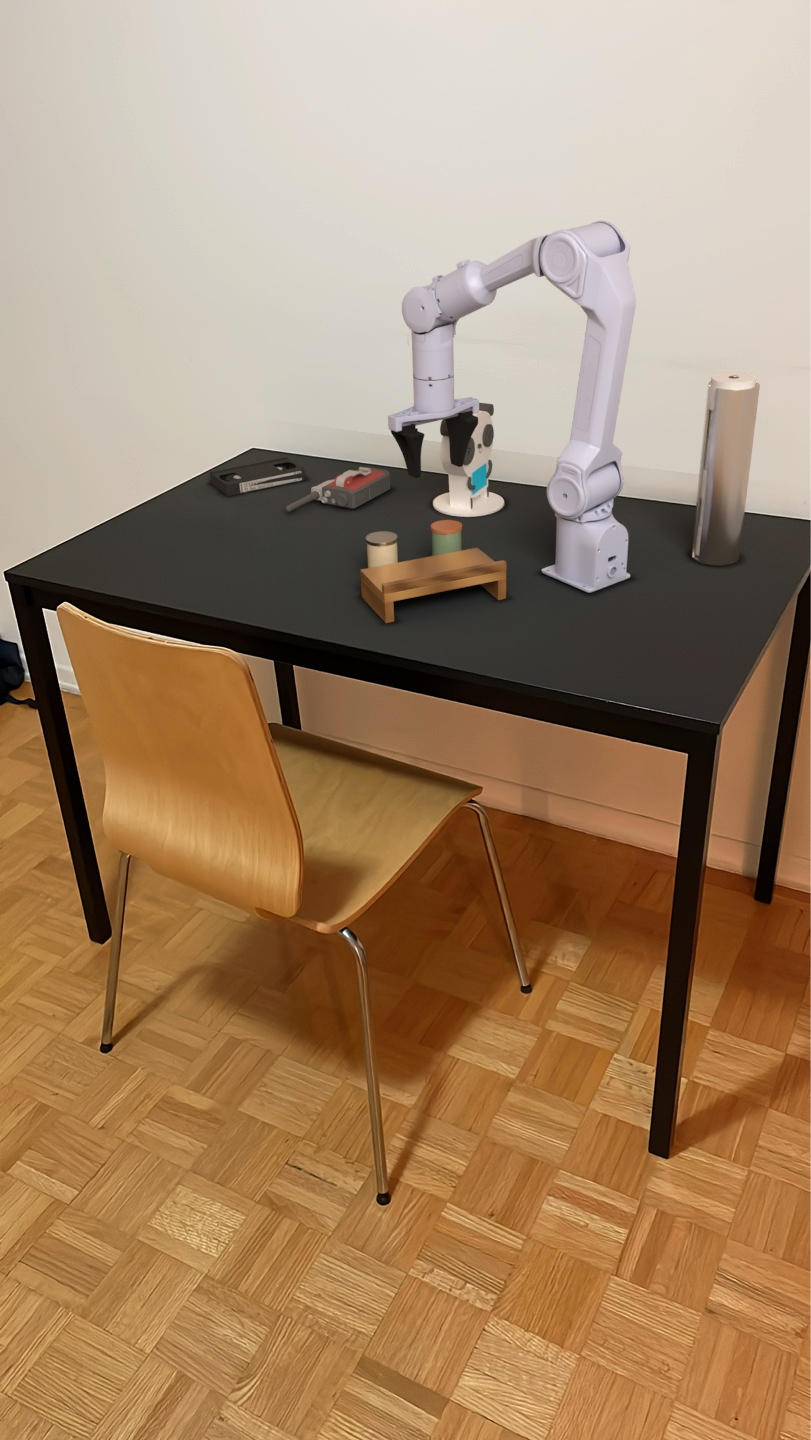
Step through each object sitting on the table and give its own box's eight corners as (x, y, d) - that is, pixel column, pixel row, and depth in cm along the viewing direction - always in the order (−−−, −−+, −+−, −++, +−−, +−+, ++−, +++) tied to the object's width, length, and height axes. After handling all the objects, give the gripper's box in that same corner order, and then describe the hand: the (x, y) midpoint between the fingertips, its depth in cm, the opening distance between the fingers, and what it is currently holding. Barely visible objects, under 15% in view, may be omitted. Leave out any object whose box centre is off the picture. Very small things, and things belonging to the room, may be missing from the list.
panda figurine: (483, 522, 174) (483, 425, 166) (418, 511, 179) (415, 416, 171) (515, 497, 183) (517, 404, 175) (452, 488, 188) (451, 397, 180)
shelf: (477, 574, 157) (477, 538, 154) (506, 598, 149) (506, 561, 147) (361, 597, 152) (359, 560, 149) (385, 623, 144) (383, 585, 142)
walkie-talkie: (354, 479, 194) (282, 516, 179) (352, 454, 191) (279, 489, 177) (397, 487, 189) (326, 525, 175) (396, 461, 187) (324, 498, 173)
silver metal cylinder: (740, 567, 155) (762, 382, 143) (691, 565, 157) (709, 381, 144) (737, 549, 161) (759, 370, 148) (690, 547, 162) (708, 369, 149)
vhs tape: (227, 496, 189) (226, 484, 188) (211, 483, 195) (209, 472, 194) (305, 480, 194) (304, 468, 193) (287, 468, 200) (286, 457, 199)
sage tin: (469, 569, 158) (468, 525, 155) (444, 578, 156) (443, 533, 153) (449, 561, 161) (448, 517, 158) (425, 568, 159) (424, 525, 156)
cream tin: (405, 582, 155) (404, 537, 152) (380, 590, 153) (377, 545, 150) (387, 572, 158) (385, 528, 155) (362, 581, 156) (359, 536, 153)
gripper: (458, 362, 165) (459, 454, 171) (374, 379, 158) (379, 474, 165) (488, 370, 159) (488, 465, 166) (402, 388, 153) (406, 486, 159)
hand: (435, 470), depth 165 cm, fingers open, 7 cm apart
